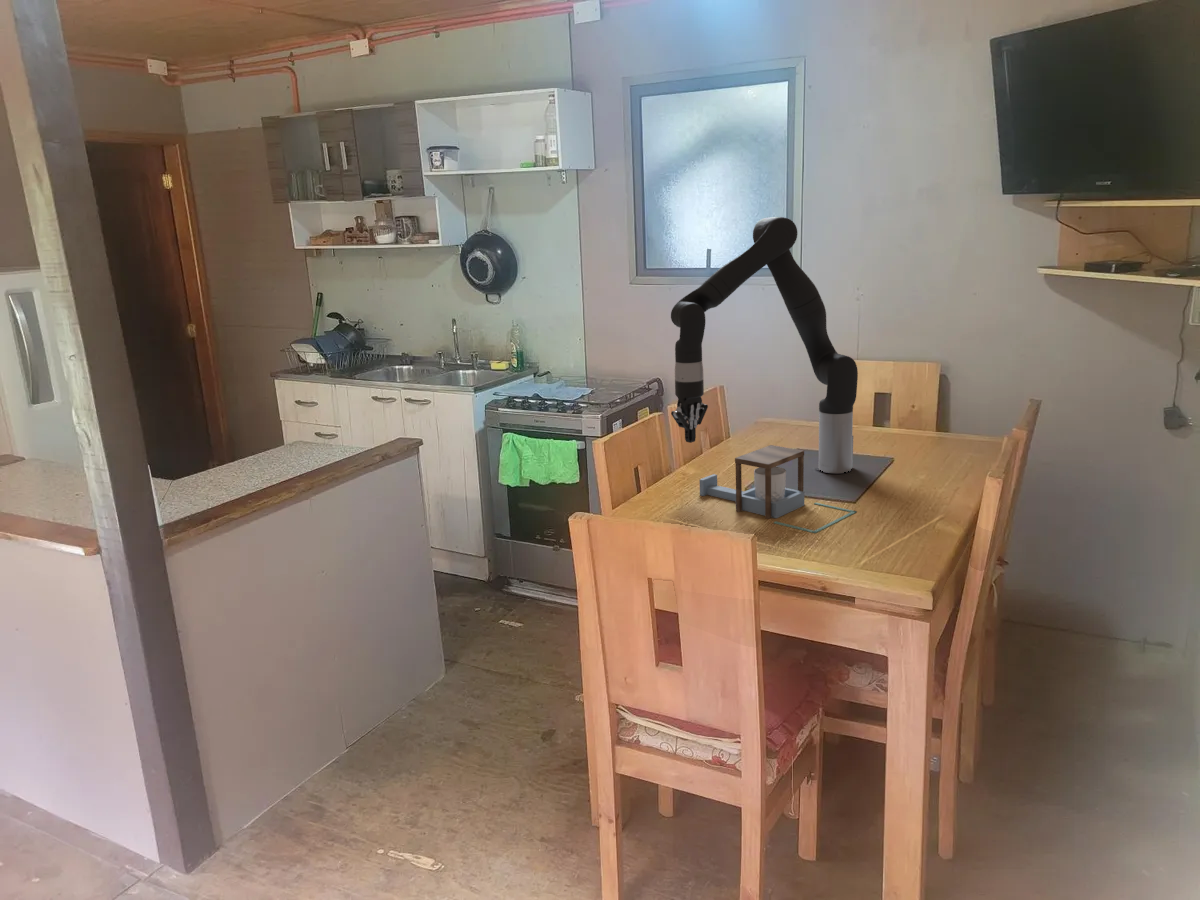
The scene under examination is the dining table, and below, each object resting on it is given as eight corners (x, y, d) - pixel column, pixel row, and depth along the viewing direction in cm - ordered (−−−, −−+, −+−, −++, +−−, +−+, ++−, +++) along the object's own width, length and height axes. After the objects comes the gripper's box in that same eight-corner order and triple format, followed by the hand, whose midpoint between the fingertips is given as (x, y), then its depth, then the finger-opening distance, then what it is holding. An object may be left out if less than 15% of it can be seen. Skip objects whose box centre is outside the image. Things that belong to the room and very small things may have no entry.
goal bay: (815, 504, 220) (815, 502, 220) (856, 513, 212) (856, 511, 212) (773, 524, 208) (773, 522, 207) (815, 534, 200) (815, 532, 199)
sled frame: (721, 486, 237) (720, 471, 236) (804, 505, 219) (804, 488, 217) (692, 498, 229) (691, 482, 228) (776, 518, 210) (776, 501, 209)
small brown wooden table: (771, 497, 227) (770, 444, 224) (803, 504, 220) (804, 450, 217) (735, 512, 217) (734, 458, 214) (768, 520, 210) (768, 464, 207)
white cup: (787, 504, 221) (787, 466, 219) (783, 514, 214) (783, 475, 211) (756, 502, 224) (756, 465, 221) (751, 512, 217) (751, 474, 214)
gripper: (683, 383, 222) (685, 449, 226) (716, 375, 231) (716, 438, 235) (661, 380, 227) (663, 444, 231) (694, 373, 236) (695, 435, 240)
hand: (690, 441), depth 233 cm, fingers closed
